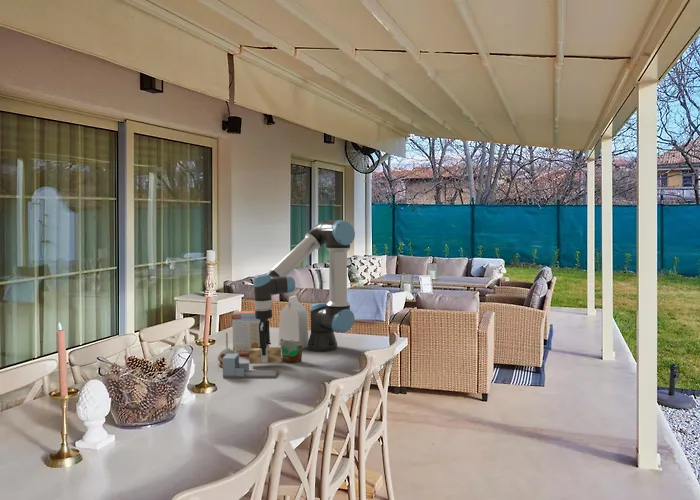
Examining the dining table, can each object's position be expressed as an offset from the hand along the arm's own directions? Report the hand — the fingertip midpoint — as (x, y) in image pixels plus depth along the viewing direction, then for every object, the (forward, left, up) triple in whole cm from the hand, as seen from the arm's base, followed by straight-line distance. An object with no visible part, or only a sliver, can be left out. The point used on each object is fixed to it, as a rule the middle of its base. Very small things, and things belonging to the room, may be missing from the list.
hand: (265, 360), depth 275 cm
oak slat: (0, 0, -1) cm, 1 cm away
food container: (-9, -8, -3) cm, 12 cm away
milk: (-7, -39, -3) cm, 39 cm away
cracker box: (+13, -23, -3) cm, 26 cm away
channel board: (+4, +15, -2) cm, 16 cm away
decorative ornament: (+18, -1, -3) cm, 18 cm away
